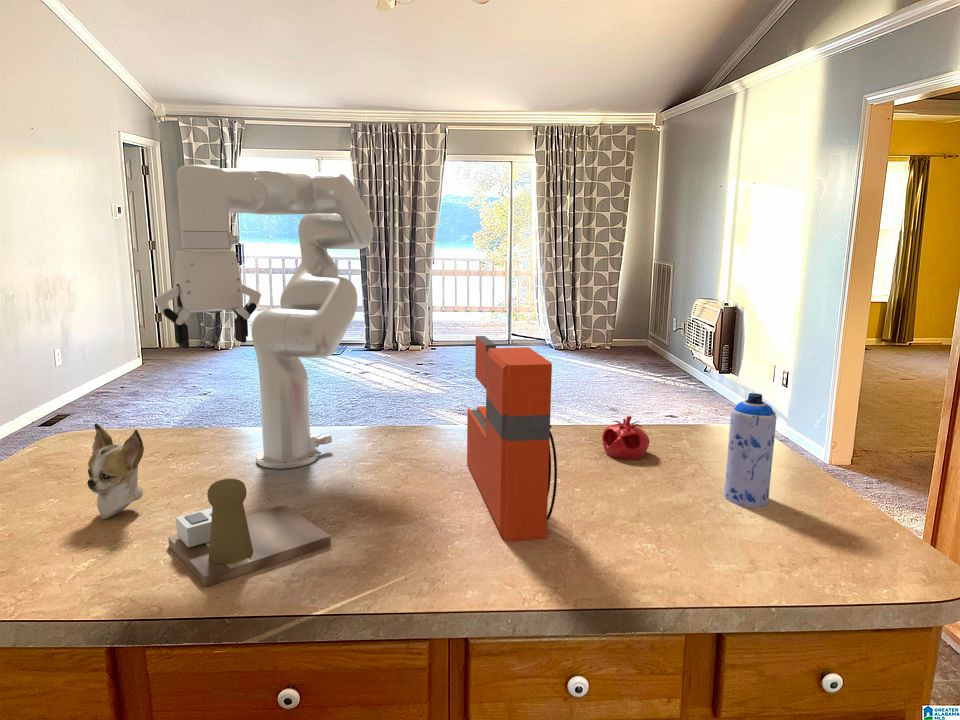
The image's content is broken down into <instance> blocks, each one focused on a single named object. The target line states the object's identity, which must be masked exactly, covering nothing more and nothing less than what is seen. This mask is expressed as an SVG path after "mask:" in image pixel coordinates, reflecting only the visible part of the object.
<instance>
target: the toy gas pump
mask: <svg viewBox="0 0 960 720" xmlns="http://www.w3.org/2000/svg"><path fill="white" fill-rule="evenodd" d="M474 359H475V367H474V368H475V369H474V371H475V373H474V376H475V378H476V380H478V382H479V383H480V384H481V385H482V386H483V388H484V389H485V391H486V392H485V405H483V406H477V407H476V409H471V408H470V407H467V415H466V417H467V420H466V421H467V422H466V423H467V424H466V425H467V428H466V429H467V430H466V437H467V439H466V443H467V444H466V446H467V447H466V464H467V466H468V468H469V470H470V473H471V475H472V477H473V480H474V481H475V483H476V485H477V487H478V490H479V491H480V493H481V495H482V498H483V500H484V502H485V503H486V506H487V508H488V509H489V513H490V514H491V516H492V518H493V520H494V522H495V525H496V526H497V528H498V531H499V533H500V535H501V536H502V538H503V539H504V541H505V542H506V543H509V542H508V541H512V542H521V541H522V540H524V541H533V540H534V541H536V540H544V539H545V540H546V539H547V537H548V536H547V532H548V530H547V529H548V528H547V527H548V521H549V519H550V518H551V515H552V513H553V510H554V506H555V501H556V493H557V480H558V462H557V451H556V445H555V441H554V437H553V434H552V432H551V429H552V425H551V410H552V409H551V406H552V378H553V377H552V376H553V372H552V370H553V364H552V362H551V361H550V360H549V359H546V358H545V357H544V356H542V355H541V354H539V353H538V352H537V351H535V350H533V349H532V348H530V347H525V346H524V347H497V345H496V344H495V342H493V341H491V340H490V339H489V338H488V337H487V336H486V335H475V358H474ZM550 442H551V444H550ZM551 447H552V453H551ZM552 454H553V466H554V468H553V471H554V474H553V490H552V498H551V503H550V507H549V511H548V504H549V502H548V501H549V493H550V490H551V489H550V486H551V478H552V477H551V476H552ZM535 539H536V540H535Z"/></svg>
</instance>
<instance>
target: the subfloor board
mask: <svg viewBox="0 0 960 720" xmlns="http://www.w3.org/2000/svg"><path fill="white" fill-rule="evenodd" d="M246 519H247V524H248V529H249V533H250V538H251V543H252V548H253V553H252V555H251V556H250V557H248V558H246V559H245V560H242V561H239V562H236V563H231V564H217V563H214V562H212V561H210V560H209V547H210V541H209V542H206V543H203V544H199V545H196V546H192V547H189V548H188V547H187V545H186V544H185V543H184V542H183V541H182V540H181V539H180V538H179V537H178V536H177V534H175V535H172V536H168V537H167V539H168V547H169V548H170V550H172V551H173V553H174V554H175V555H176V556H177V557H178V558H179V559H180V560H181V562H182V563H183V564H185V566H186V568H188V569H189V570H190V572H192V574H193V575H194V576H195V577H196V579H198V580H199V582H200V583H201V584H202V585H203V587H205V588H207V587H209V586H212V585H216V584H219V583H222V582H224V581H228V580H231V579H234V578H236V577H240V576H242V575H245V574H250V573H252V572H254V571H258V570H260V569H264V568H266V567H270V566H272V565H275V564H279V563H281V562H284V561H287V560H290V559H293V558H296V557H300V556H302V555H305V554H308V553H311V552H314V551H316V550H320V549H323V548H327V547H329V546H331V545H332V541H331V540H332V539H331V538H332V537H331V535H330V534H329V533H327V532H326V531H324V530H322V529H321V528H320V527H318V525H317V526H316V525H315V524H314V523H312V522H311V521H310V520H309V519H307V518H305V517H304V516H302V515H301V514H300V513H298V512H296V510H294V509H292V508H291V507H289V506H288V505H287V504H283V505H279V506H275V507H273V508H268V509H264V510H262V511H258V512H253V513H251V514H247V515H246Z"/></svg>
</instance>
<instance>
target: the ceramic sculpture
mask: <svg viewBox="0 0 960 720" xmlns="http://www.w3.org/2000/svg"><path fill="white" fill-rule="evenodd" d="M94 430H95V432H96V433H95V436H94V442H93V444H92V455H91V456H90V458H89V460H88V463H87V467H88V469H87V473H88V476H89V479H88V480H87V487H88V489H90V491H91V492H93V493H94V494H97V498H96V503H97V504H96V505H97V509H98V513H99V514H100V519H101V520H106V519H108V518H110V517H113V516H115V515H116V514H118V513H121V512H122V511H123V510H125V509H127V507H128V506H130V505H131V504H132V503H134V502H135V501H138V500H140V499H141V498H142V497H143V495H144V490H143V488H141V487H140V486H139V484H138V482H139V481H138V480H139V476H138V473H139V472H138V471H139V464H140V463H141V460H142V458H143V455H144V451H145V446H144V443H143V439H142V437H141V435H140V432H139V430H137V429H135V430H134V431H133V432H132V434H131V435H130V436H129V438H127V439H126V440H125V441H124V443H123V444H114V443H113V439H112V438H113V437H111V435H110V434H109V433H108V432H107V431H106V429H104V428H103V427H102V426H101V425H100V424H99V423H98V422H97V423H96V422H95V423H94Z"/></svg>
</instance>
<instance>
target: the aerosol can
mask: <svg viewBox="0 0 960 720" xmlns="http://www.w3.org/2000/svg"><path fill="white" fill-rule="evenodd" d="M776 415H777V413H776V411H775V410H774V409H773V407H772V406H771V405H770V404H767V403H766V402H765V401H763V394H761V393H755V392H750V393H748V396H747V399H744V400H743V401H740V402H738V403H737V404H736V406H734V407H733V408H732V409H731V412H730V421H729V422H730V423H729V434H728V446H727V456H726V457H727V458H726V459H727V460H726V471H725V481H724V490H723V491H724V493H723V496H724V498H725V499H726V500H727V501H729V503H731V504H734V505H736V506H739V507H744V508H745V507H746V508H762V507H766V506H767V504H768V503H769V495H770V488H771V478H772V477H771V476H772V468H773V458H774V457H773V456H774V446H775V437H776V436H775V435H776V427H777V416H776Z"/></svg>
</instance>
